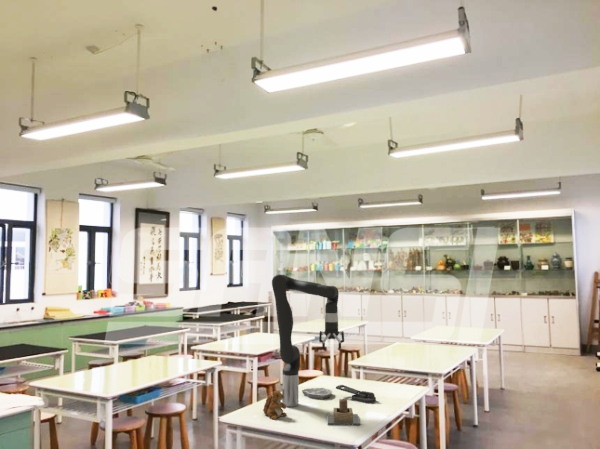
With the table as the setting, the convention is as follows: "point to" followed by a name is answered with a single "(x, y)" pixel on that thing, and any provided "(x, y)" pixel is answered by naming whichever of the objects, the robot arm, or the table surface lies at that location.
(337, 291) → the robot arm
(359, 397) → the zipper pull
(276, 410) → the stuffed squirrel
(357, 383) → the table surface
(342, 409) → the walnut bar
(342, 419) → the well stand
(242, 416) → the table surface
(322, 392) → the brain slice
